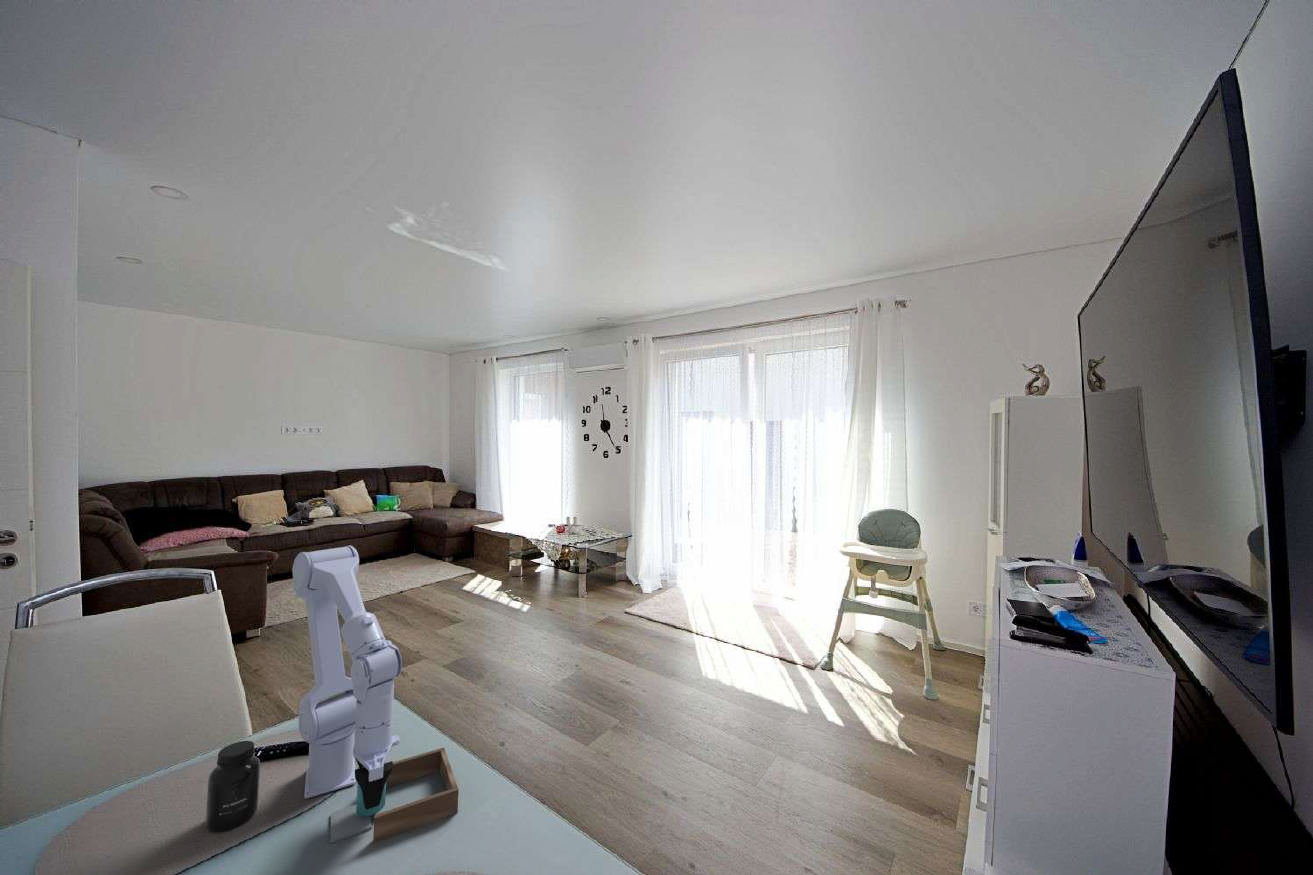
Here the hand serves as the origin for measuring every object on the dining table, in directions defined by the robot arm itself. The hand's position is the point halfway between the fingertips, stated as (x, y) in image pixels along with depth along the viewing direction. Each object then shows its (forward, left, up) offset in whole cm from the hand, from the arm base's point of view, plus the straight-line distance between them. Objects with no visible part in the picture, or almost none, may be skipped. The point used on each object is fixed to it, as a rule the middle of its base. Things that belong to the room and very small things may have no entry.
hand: (371, 797), depth 86 cm
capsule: (0, 0, -2) cm, 2 cm away
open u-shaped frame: (0, +7, -3) cm, 7 cm away
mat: (0, -3, -3) cm, 4 cm away
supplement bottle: (-11, -20, -3) cm, 23 cm away
